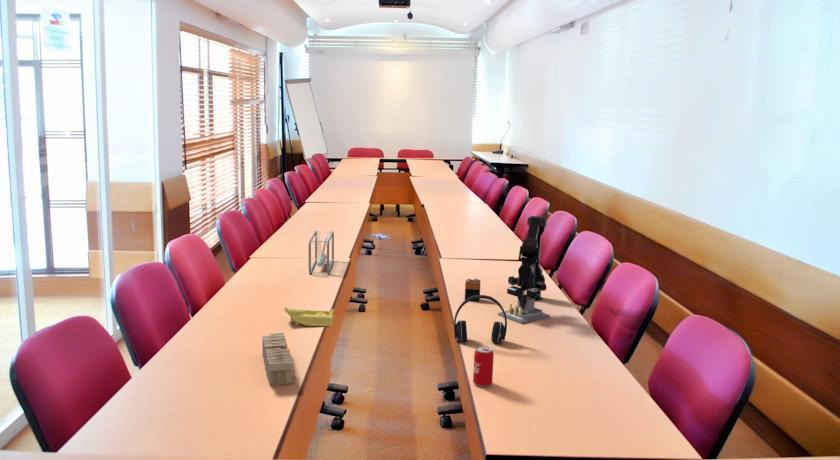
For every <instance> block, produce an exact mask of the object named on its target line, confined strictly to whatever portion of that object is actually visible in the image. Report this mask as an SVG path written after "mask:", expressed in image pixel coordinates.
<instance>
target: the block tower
mask: <svg viewBox="0 0 840 460" xmlns="http://www.w3.org/2000/svg"><path fill="white" fill-rule="evenodd" d="M261 338H262V341H261V342H262V345H261V346H262V359H263V363H264V364H263V365H264V370H265V372H266V373H265V374H266V377H267V382H268V385H269V386H270V387H271V386H279V385H281V386H282V385H287V384H293V383H294V365H295V364H294V363H295V362H294V361H293V358H292V355H291V351H290V349H289V348H288V343H287V340H286V337H285V333H284V332H277V333H275V332H274V333H269V334H266V335H265V334H264V335H262V337H261Z"/></svg>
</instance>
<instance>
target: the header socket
mask: <svg viewBox="0 0 840 460" xmlns="http://www.w3.org/2000/svg"><path fill="white" fill-rule="evenodd" d="M512 306H513V307H512ZM517 308H518V305H513V304H512V303H508V310H504V311H505V314H506V318H507V320H510V321H512V322H515V323H518V324H520V325H524V324H527V323H531V322H535V321H540V320H543V319H547V318H550V315H551V314H549V313H545V312H543V309H540V308H537V307H535V306H534V313H530V314H526V313H523V312H522V308H521V307H519V311H518V310H517ZM497 316H499V317H503V318H504V319H505V317H504V314H503V311H501V312H498V313H497Z"/></svg>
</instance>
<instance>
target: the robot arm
mask: <svg viewBox="0 0 840 460" xmlns="http://www.w3.org/2000/svg"><path fill="white" fill-rule="evenodd" d="M526 225H527V227H528V230H527V235H526V239H523V240H522V244H521V245H520V247H519V252H518V254H519V255H518V262H521V263H520V266H519V267H518V269H517V272H518V273H517V274H518V277H515V276H509V277H508V278H507V282H508V284H509V285H510V286H509V287H507V289H506V294H507V295H511V296H514V297H517V301H518V300H519V303H520V306H521V308H522V309H524V306H525V303H526V299H527V297H531V298H533V299H535V301H540V300H543V299H544V297H542V292H544V291H547V284H546V277H545V275H544V274H543V273H544V271H543V269H542V266H541V250H542V249H541V246H542V235H543V234H544V232H545V230H546V227H547V226H548V219H547V218H546V217H545V216H540V215H539V216H538V215H537V216H536V215H531V216H529V217H527V220H526Z"/></svg>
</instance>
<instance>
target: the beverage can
mask: <svg viewBox="0 0 840 460" xmlns="http://www.w3.org/2000/svg"><path fill="white" fill-rule="evenodd" d="M494 355H495V354H494V352H493V349H492V347H490V346H485V345H481V346H479V345H478V346H477V347H476V348H475V351H474V354H473V376H472V382H473V384H475V385H476V386H477V387H479V388H480V387H482V388H486V387H489V386H490V385H492V384H493V379H494V378H493V372H494V357H495V356H494Z"/></svg>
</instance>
